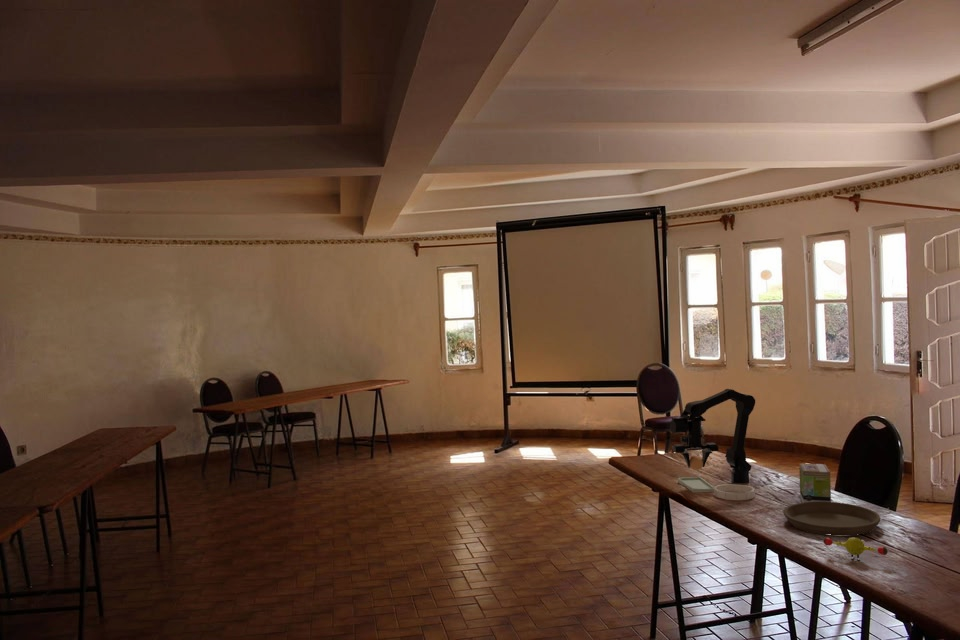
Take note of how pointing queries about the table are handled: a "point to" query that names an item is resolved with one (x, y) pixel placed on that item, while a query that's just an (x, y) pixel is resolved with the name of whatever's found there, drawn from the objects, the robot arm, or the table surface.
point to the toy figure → (855, 546)
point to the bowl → (734, 492)
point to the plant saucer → (831, 518)
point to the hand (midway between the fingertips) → (696, 467)
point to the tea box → (815, 483)
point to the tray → (696, 484)
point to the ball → (696, 463)
